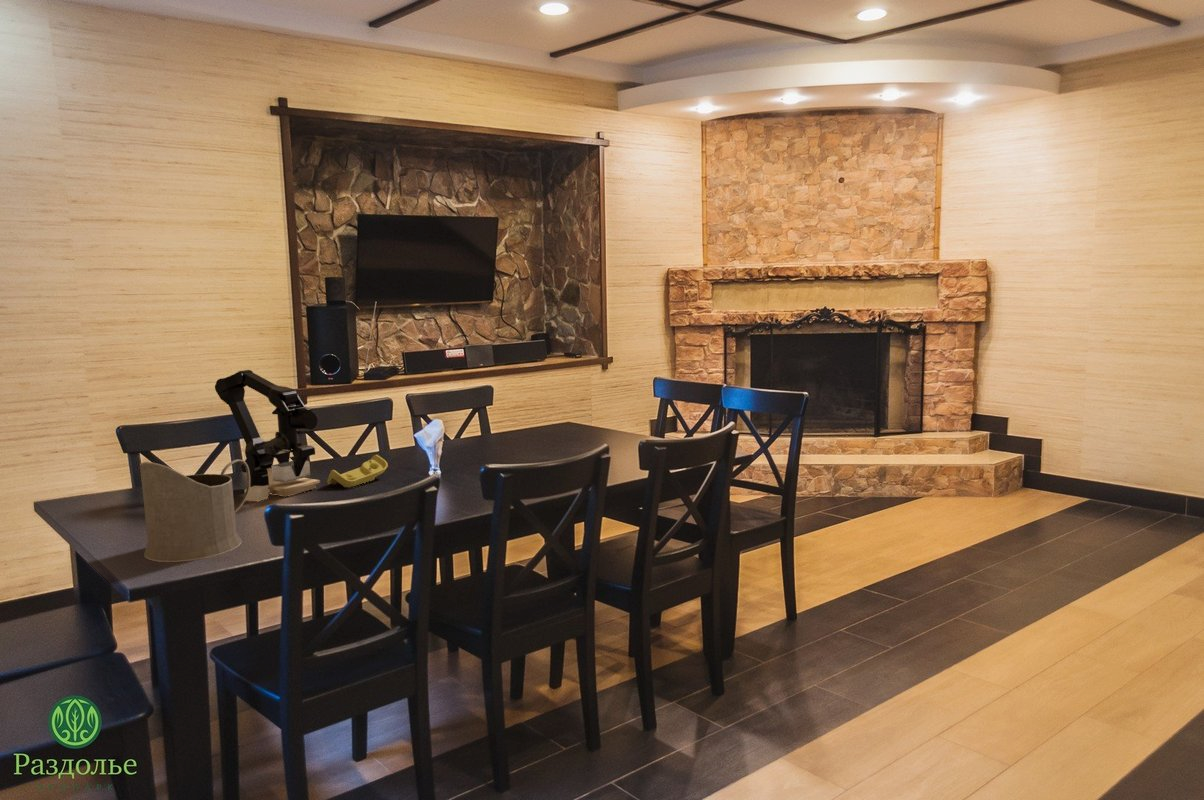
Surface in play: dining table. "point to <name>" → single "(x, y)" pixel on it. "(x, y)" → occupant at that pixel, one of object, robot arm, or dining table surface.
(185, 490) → the pitcher
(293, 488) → the stand
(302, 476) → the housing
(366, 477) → the plastic component
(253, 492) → the parts box
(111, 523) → the dining table surface
